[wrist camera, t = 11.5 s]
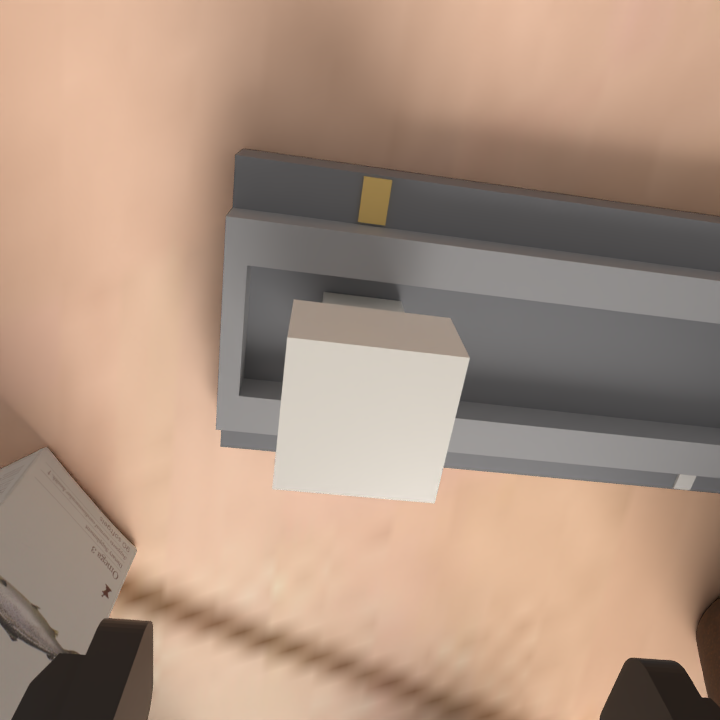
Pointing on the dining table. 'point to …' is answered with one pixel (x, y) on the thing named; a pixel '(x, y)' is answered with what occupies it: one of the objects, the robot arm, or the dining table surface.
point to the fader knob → (367, 399)
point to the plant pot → (710, 649)
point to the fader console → (491, 313)
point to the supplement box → (51, 570)
